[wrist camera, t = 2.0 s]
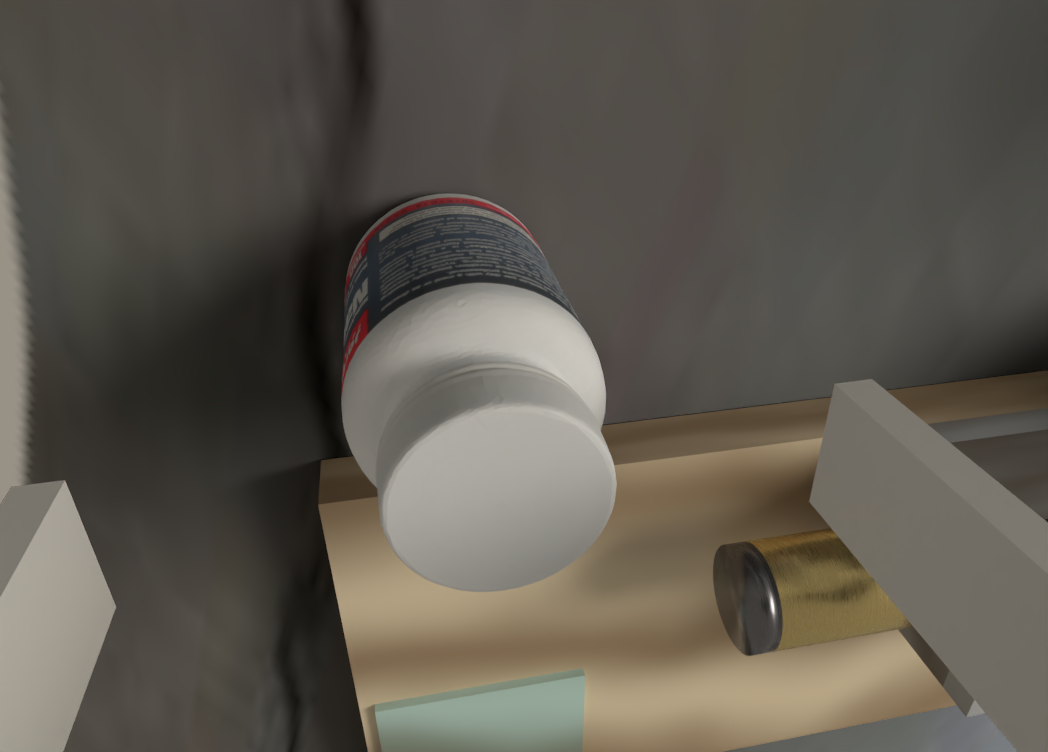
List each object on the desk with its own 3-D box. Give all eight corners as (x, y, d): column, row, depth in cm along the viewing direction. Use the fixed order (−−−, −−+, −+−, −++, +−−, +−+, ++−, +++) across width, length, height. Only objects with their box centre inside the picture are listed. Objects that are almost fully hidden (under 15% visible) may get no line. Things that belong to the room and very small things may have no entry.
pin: (719, 522, 21) (768, 601, 19) (969, 485, 23) (1047, 555, 20) (708, 597, 23) (752, 679, 20) (942, 558, 24) (1011, 631, 21)
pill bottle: (323, 207, 18) (298, 400, 11) (534, 173, 19) (652, 333, 11) (369, 390, 21) (375, 646, 13) (551, 356, 21) (655, 583, 14)
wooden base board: (321, 460, 22) (305, 681, 15) (1097, 364, 26) (1345, 507, 19) (381, 775, 30) (388, 1009, 23) (968, 664, 34) (1113, 837, 27)
